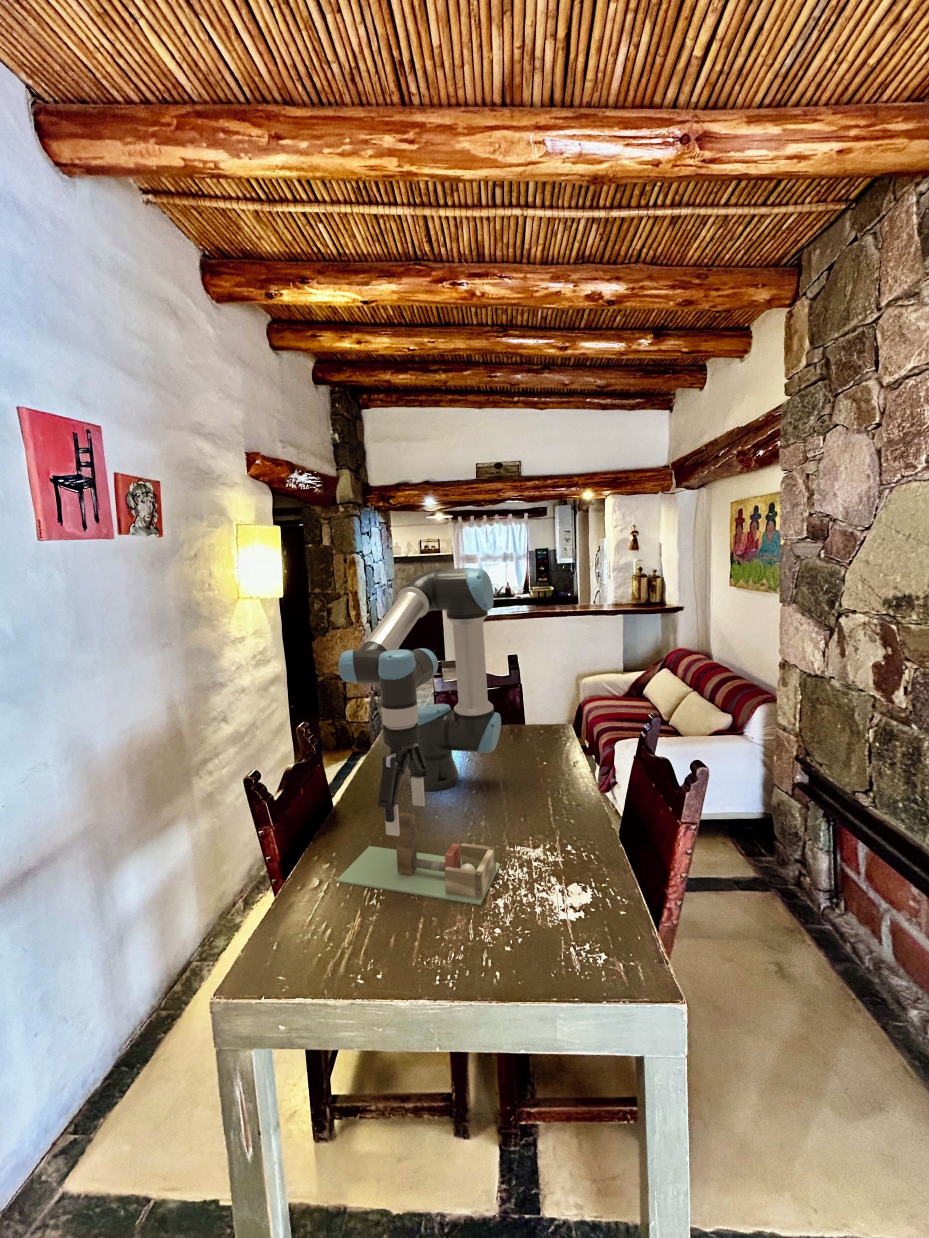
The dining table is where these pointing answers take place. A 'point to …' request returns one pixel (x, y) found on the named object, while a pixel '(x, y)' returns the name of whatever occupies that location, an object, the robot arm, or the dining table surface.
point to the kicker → (409, 854)
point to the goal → (471, 871)
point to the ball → (468, 867)
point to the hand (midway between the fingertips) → (406, 819)
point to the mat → (401, 875)
